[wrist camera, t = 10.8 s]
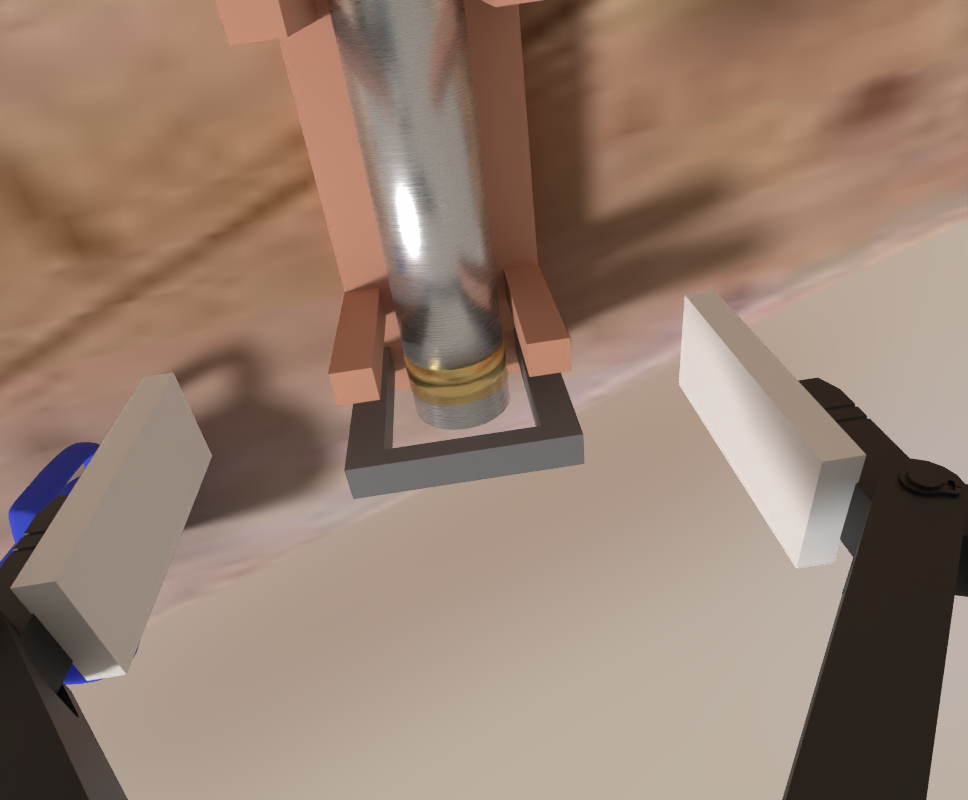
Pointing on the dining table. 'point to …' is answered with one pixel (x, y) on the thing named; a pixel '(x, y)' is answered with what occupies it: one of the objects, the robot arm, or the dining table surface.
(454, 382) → the tube
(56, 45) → the dining table surface
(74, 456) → the mug
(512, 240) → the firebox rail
